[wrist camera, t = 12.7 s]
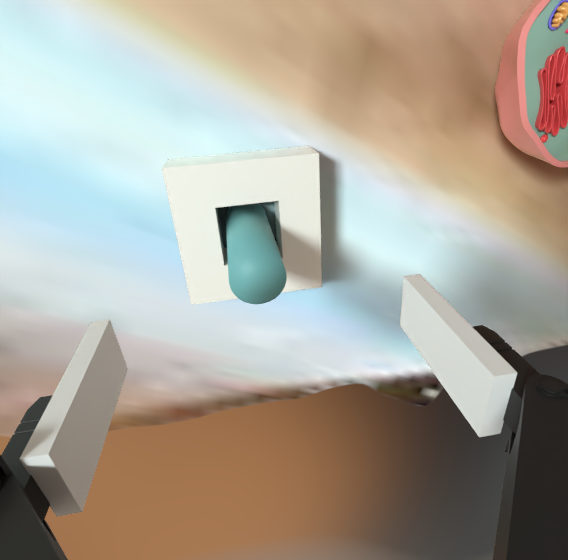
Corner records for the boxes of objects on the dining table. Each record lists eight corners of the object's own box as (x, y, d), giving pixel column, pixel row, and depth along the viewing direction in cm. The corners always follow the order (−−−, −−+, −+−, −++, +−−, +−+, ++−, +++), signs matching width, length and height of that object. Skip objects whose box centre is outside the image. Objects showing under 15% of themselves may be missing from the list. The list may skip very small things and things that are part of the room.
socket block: (308, 145, 39) (319, 153, 35) (312, 268, 45) (322, 286, 41) (168, 159, 37) (162, 168, 33) (193, 284, 44) (191, 304, 40)
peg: (264, 197, 40) (284, 249, 28) (268, 235, 42) (288, 300, 30) (222, 201, 40) (224, 256, 28) (228, 240, 42) (232, 307, 30)
